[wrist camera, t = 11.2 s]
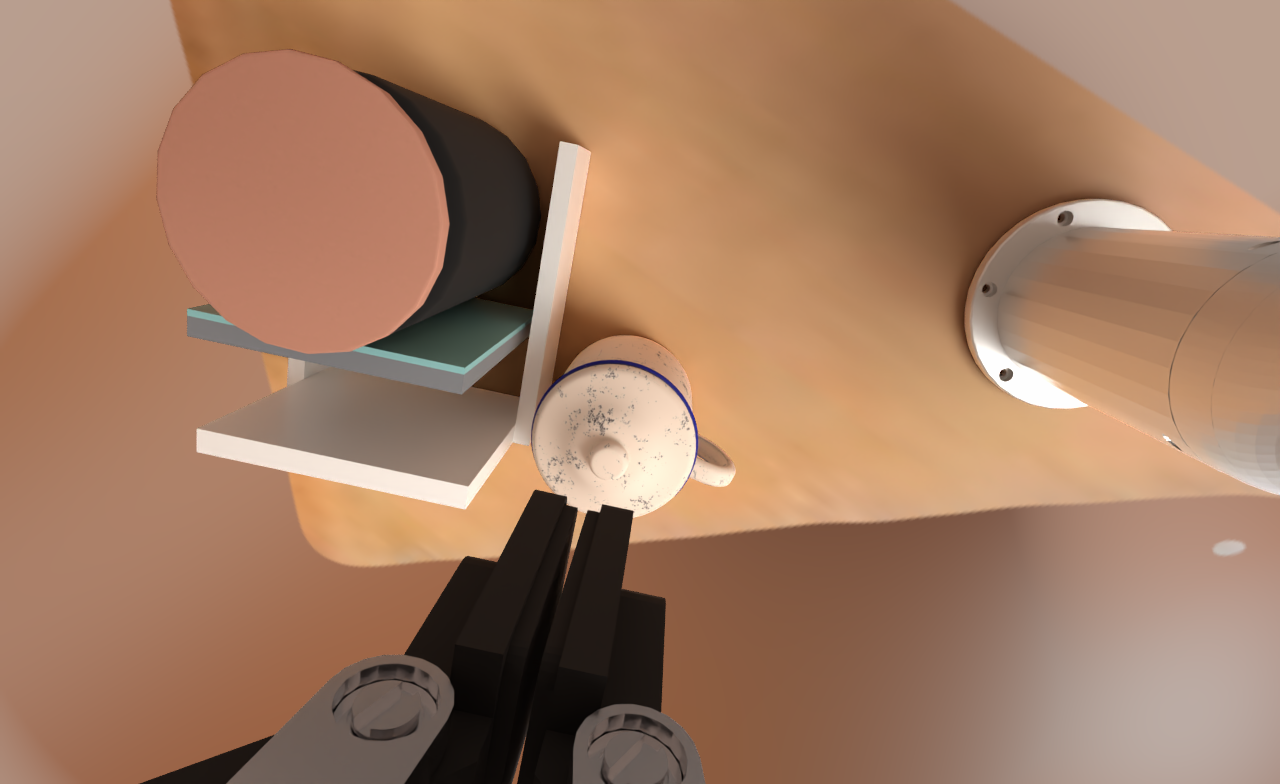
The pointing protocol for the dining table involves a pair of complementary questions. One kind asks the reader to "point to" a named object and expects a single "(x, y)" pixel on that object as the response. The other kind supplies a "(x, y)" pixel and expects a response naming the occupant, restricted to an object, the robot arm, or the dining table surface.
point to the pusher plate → (405, 344)
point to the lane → (412, 399)
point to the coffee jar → (336, 201)
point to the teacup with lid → (623, 430)
